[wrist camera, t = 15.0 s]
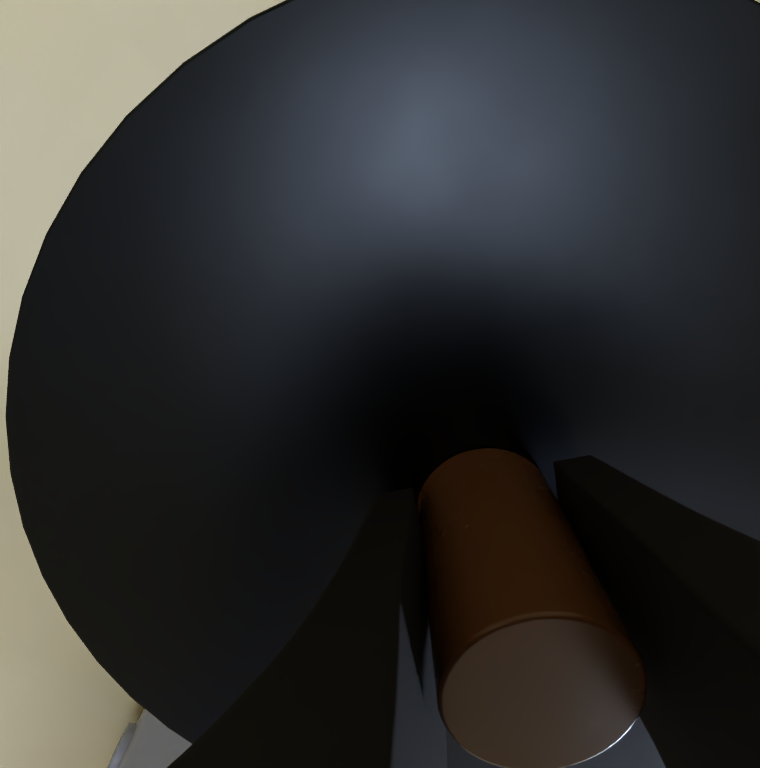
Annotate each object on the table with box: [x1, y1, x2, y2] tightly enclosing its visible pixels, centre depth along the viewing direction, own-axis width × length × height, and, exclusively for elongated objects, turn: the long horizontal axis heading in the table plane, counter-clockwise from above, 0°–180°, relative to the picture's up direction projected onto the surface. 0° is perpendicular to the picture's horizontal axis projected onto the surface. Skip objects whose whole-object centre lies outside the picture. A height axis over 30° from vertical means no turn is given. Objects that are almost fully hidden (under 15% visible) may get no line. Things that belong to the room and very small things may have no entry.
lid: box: [6, 0, 760, 768], centre depth 9 cm, size 17×17×5 cm
